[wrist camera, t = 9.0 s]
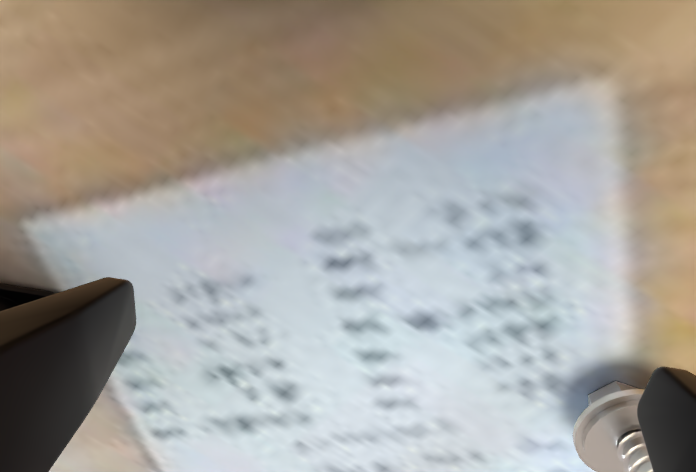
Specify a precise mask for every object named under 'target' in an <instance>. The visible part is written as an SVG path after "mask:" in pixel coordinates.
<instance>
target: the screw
mask: <svg viewBox="0 0 696 472" xmlns="http://www.w3.org/2000/svg"><path fill="white" fill-rule="evenodd" d="M644 390H645V389H638V388H635V387H632V386H629V385H626V384H623V383H620V382H617V381H614V382H612V383H610V384H608V385H606V386H605V387H603V388H601V389H599V390H597V391H595V392H593V393H591V394H589V395H588V407H587V408H586V409H585V410H584V411H583V412H582V414H581V415H580V416H579V417H578V419H577V421H576V423H575V426H574V430H573V442H574V446H575V448H576V451H577V453H578V455H579V457H580V458H581V460H582V461H583V462H584V463H585V464H586V465H587V466H589V467H590V468H591V469H593V470H594V471H596V472H653V469H652V465H651V462H650V458H649V455H648V452H647V448H646V445H645V442H644V438H643V435H642V431H641V428H640V425H639V421H638V417H637V407H638V403H639V400H640V398H641V396H642V394H643V392H644Z"/></svg>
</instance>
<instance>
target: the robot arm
mask: <svg viewBox="0 0 696 472" xmlns="http://www.w3.org/2000/svg"><path fill="white" fill-rule="evenodd" d="M135 325H136V313H135V300H134V289H133V285H132V283H131V282H129V281H128V280H123V279H117V278H111V277H106V278H103V279H99V280H96V281H93V282H90V283H87V284H84V285H81V286H78V287H75V288H72V289H68V290H65V291H62V292H59V293H53V292H49V291H43V290H37V289H31V288H25V287H19V286H13V285H6V284H0V472H48V471H49V470H50V469H51V467H52V466H53V464H54V463H55V461H56V460H57V458H58V457H59V456H60V454H61V453H62V451H63V450H64V448H65V447H66V445H67V444H68V443H69V441H70V440H71V438H72V437H73V435H74V434H75V432H76V431H77V430H78V428H79V427H80V425H81V424H82V422H83V421H84V419H85V418H86V416H87V415H88V413H89V412H90V410H91V409H92V407H93V405H94V404H95V402H96V400H97V399H98V397H99V395H100V393H101V392H102V390H103V388H104V386H105V384H106V382H107V381H108V379H109V377H110V375H111V373H112V371H113V369H114V368H115V366H116V364H117V362H118V360H119V358H120V357H121V355H122V353H123V351H124V349H125V347H126V346H127V344H128V342H129V340H130V338H131V336H132V334H133V332H134V329H135ZM637 417H638V421H639V425H640V428H641V431H642V435H643V438H644V442H645V445H646V448H647V452H648V455H649V458H650V462H651V465H652V469H653V472H696V376H695V375H693V374H692V373H690V372H688V371H686V370H682V369H676V368H669V367H659V368H657V369H656V370H655V371H654V372H653V374H652V376H651V378H650V380H649V382H648V384H647V386H646V388H645V390H644V392H643V394H642V396H641V398H640V400H639V403H638V407H637Z"/></svg>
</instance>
